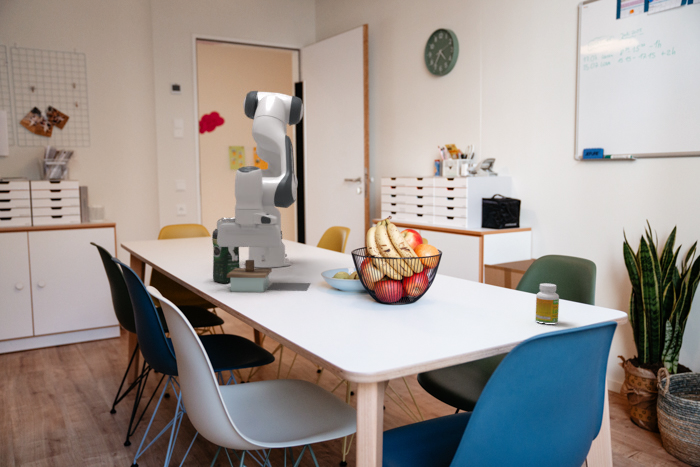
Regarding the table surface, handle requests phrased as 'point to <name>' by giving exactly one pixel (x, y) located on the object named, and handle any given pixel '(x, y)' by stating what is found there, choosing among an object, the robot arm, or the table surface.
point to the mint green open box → (249, 284)
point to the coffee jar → (223, 261)
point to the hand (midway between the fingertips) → (249, 260)
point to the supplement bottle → (547, 304)
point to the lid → (249, 271)
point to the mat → (289, 286)
